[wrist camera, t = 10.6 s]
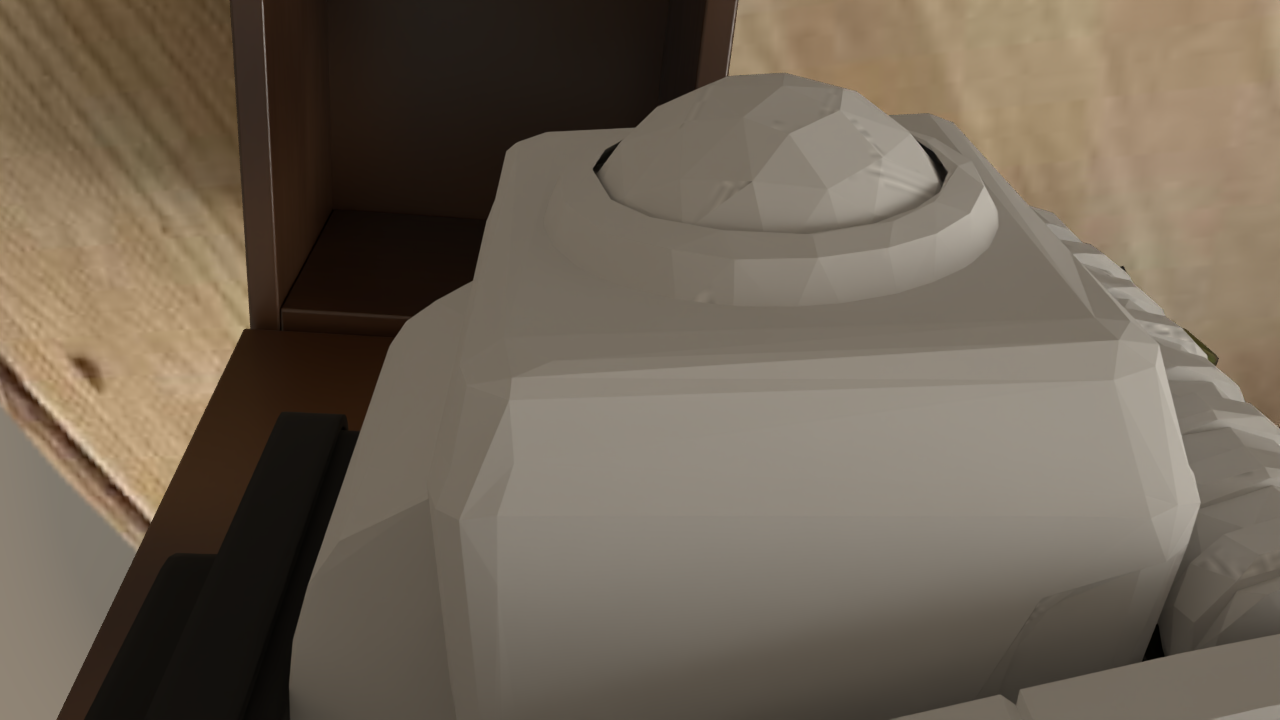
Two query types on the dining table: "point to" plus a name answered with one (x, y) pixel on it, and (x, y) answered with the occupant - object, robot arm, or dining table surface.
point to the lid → (233, 461)
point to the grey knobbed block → (793, 451)
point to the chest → (424, 132)
